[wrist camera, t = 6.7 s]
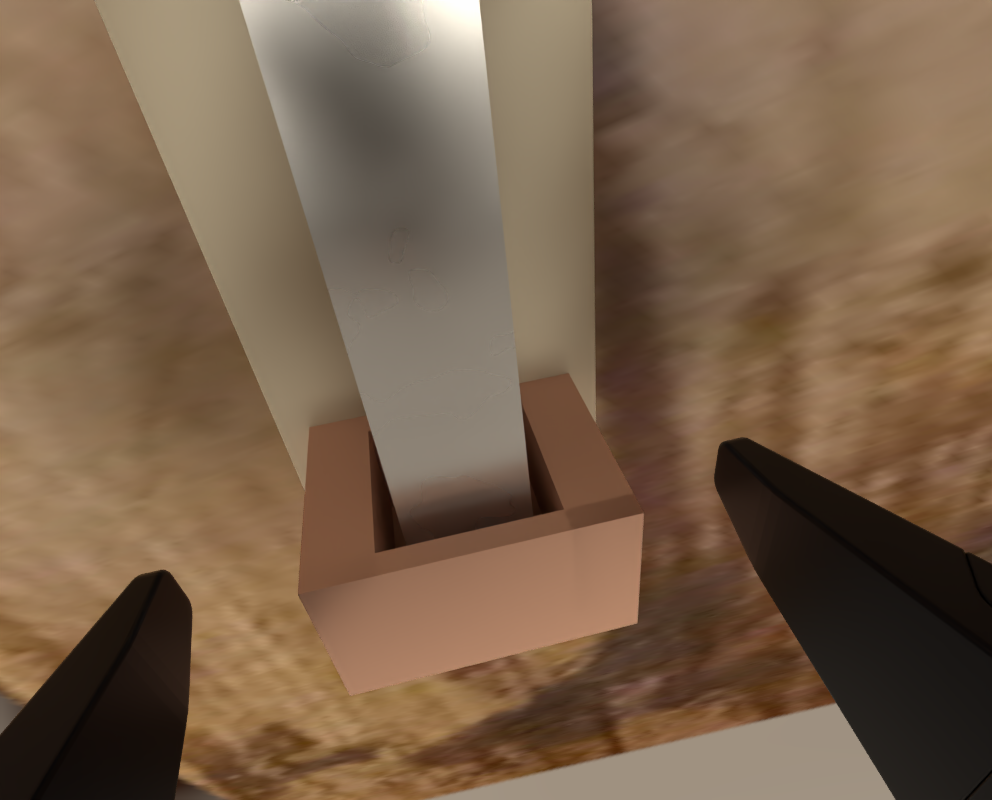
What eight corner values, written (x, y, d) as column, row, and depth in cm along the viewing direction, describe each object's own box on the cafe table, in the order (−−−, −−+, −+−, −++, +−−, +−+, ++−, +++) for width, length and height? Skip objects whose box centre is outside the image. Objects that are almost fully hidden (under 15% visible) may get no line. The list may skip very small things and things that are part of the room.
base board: (546, -1317, 6) (578, -1504, 5) (588, 525, 23) (597, 545, 22) (-458, -1379, 5) (-598, -1613, 4) (352, 581, 22) (353, 604, 22)
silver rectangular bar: (386, -481, 7) (407, -682, 5) (512, 487, 18) (538, 569, 15) (135, -465, 7) (32, -670, 5) (411, 510, 18) (422, 597, 15)
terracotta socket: (568, 372, 17) (643, 513, 13) (572, 477, 20) (637, 623, 16) (309, 427, 17) (297, 594, 12) (348, 527, 19) (350, 695, 15)
